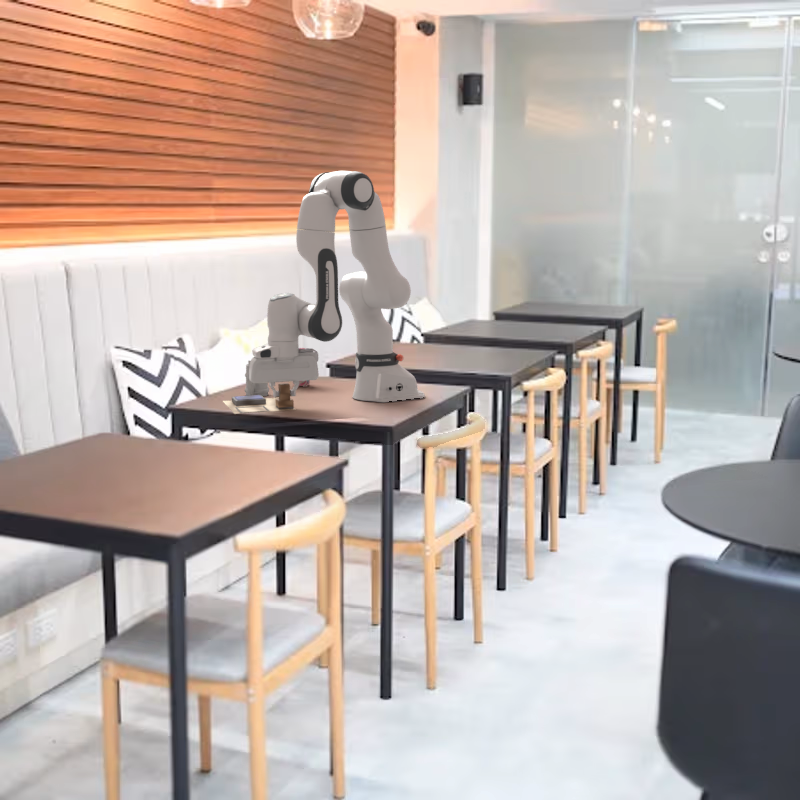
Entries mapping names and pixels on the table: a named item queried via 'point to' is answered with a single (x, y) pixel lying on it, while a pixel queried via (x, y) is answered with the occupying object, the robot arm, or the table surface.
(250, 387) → the mug
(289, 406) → the stamp
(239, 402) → the board
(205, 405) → the table surface
